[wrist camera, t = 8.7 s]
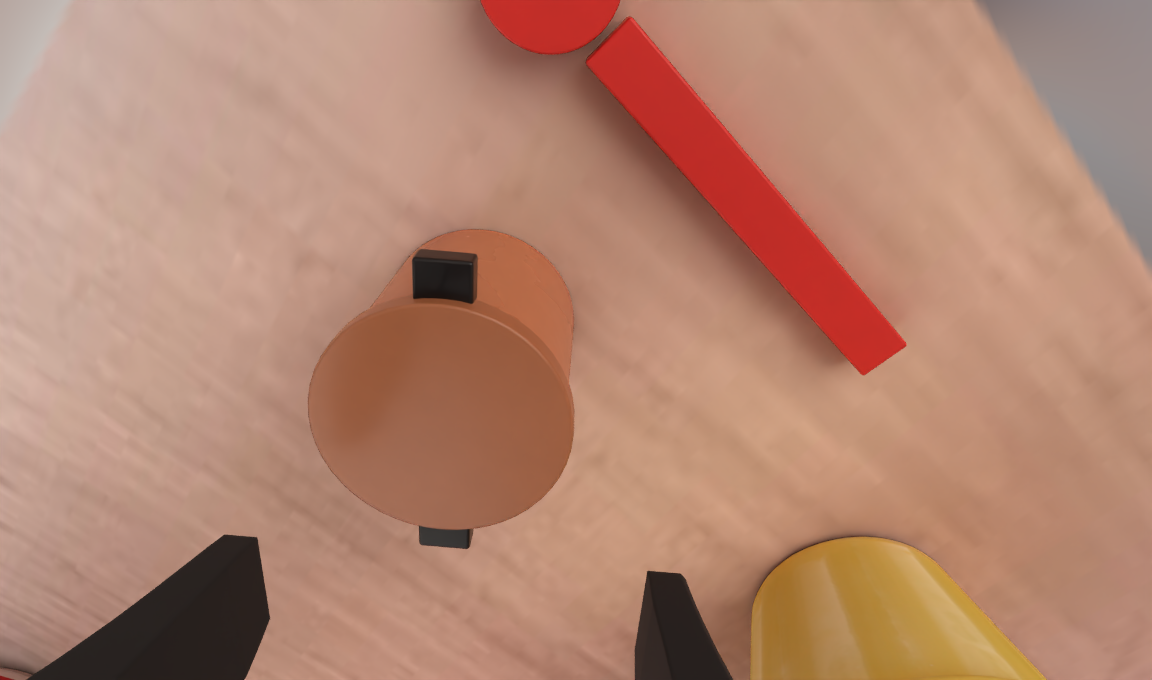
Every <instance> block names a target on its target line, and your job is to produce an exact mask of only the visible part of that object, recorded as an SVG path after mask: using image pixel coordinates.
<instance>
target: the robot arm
mask: <svg viewBox="0 0 1152 680" xmlns="http://www.w3.org/2000/svg"><path fill="white" fill-rule="evenodd" d="M269 620H270V615H269V609H268V603H267V596H266V590H265V584H264V577H263V571H262V564H261V558H260V552H259V545H258V539H257V537H246V536H234V535H223V536H222V537H221V538H219V539H218V540H217V541H215V542H214V543H213V544H211V545H210V546H209V547H207V548H206V549H205V550H204V551H202V552H201V553H200V554H198V555H197V556H196V557H195V558H193V559H192V560H191V561H189V562H188V563H187V564H186V565H184V566H183V567H182V568H180V569H179V570H178V571H177V572H175V573H174V574H173V575H171V576H170V577H169V578H168V579H166V580H165V581H164V582H162V583H161V584H160V585H159V586H157V587H156V588H155V589H153V590H152V591H151V592H150V593H148V594H147V595H146V596H144V597H143V598H142V599H140V600H139V601H138V602H136V603H135V604H134V605H132V606H131V607H130V608H128V609H127V610H126V611H124V612H123V613H122V614H120V615H119V616H118V617H116V618H115V619H114V620H112V621H111V622H109V623H108V624H107V625H105V626H104V627H102V628H101V629H99V630H98V631H97V632H95V633H94V634H92V635H91V636H90V637H88V638H87V639H85V640H84V641H82V642H81V643H80V644H78V645H77V646H75V647H74V648H72V649H71V650H70V651H68V652H67V653H65V654H64V655H62V656H61V657H60V658H58V659H57V660H55V661H54V662H52V663H51V664H49V665H48V666H46V667H45V668H43V669H42V670H40V671H39V672H37V673H35V674H34V675H32V676H31V677H29V678H28V679H26V680H244V679H245V677H246V676H247V674H248V671H249V669H250V667H251V664H252V662H253V660H254V657H255V655H256V653H257V650H258V648H259V645H260V643H261V640H262V638H263V635H264V633H265V630H266V627H267V625H268V622H269ZM635 680H733V679H732V677H731V675H730V673H729V671H728V669H727V668H726V666H725V664H724V662H723V660H722V658H721V656H720V655H719V653H718V651H717V649H716V647H715V645H714V643H713V641H712V639H711V637H710V635H709V633H708V630H707V628H706V626H705V624H704V622H703V620H702V618H701V616H700V613H699V611H698V609H697V607H696V604H695V602H694V600H693V597H692V595H691V592H690V590H689V587H688V585H687V582H686V579H685V578H684V577H683V576H682V575H681V574H678V573H666V572H654V571H647V577H646V583H645V590H644V596H643V602H642V608H641V615H640V621H639V627H638V633H637V639H636V646H635Z"/></svg>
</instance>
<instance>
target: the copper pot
mask: <svg viewBox="0 0 1152 680" xmlns="http://www.w3.org/2000/svg"><path fill="white" fill-rule="evenodd" d="M573 329H574V313H573V306H572V301H571V298H570V294H569V292H568V289H567V287H566V285H565V282H564V281H563V279H562V277H561V276H560V274H559V273H558V271H557V270H556V269H555V267H554V266H553V265H552V264H551V263H550V262H549V261H548V260H547V259H546V258H545V257H544V256H543V255H542V254H541V253H540V252H538V251H537V250H536V249H534V248H533V247H532V246H530V245H528V244H526V243H525V242H523V241H521V240H519V239H517V238H514V237H512V236H510V235H506V234H503V233H499V232H495V231H489V230H473V229H470V230H461V231H455V232H451V233H447V234H444V235H441V236H439V237H436V238H434V239H432V240H430V241H429V242H427V243H425V244H424V245H422V246H421V247H420V248H418V249H417V250H416V251H415V252H414V253H413V254H412V255H411V256H410V257H409V258H408V259H407V260H406V261H405V263H404V264H403V265H402V266H401V268H400V269H399V270H398V272H397V273H396V274H395V276H394V277H393V278H392V280H391V281H390V282H389V284H388V285H387V286H386V287H385V289H384V290H383V291H382V293H381V294H380V295H379V297H378V298H377V299H376V301H375V302H374V303H373V305H372V306H371V307H370V309H368V310H366V311H365V312H363V313H361V314H360V315H358V316H357V317H356V318H354V319H353V320H352V321H350V322H349V323H348V324H347V325H346V326H345V327H344V328H343V329H342V330H341V331H340V332H339V333H338V334H337V335H336V336H335V338H334V339H333V340H332V341H331V343H330V344H329V345H328V347H327V348H326V350H325V351H324V353H323V354H322V355H321V357H320V359H319V361H318V363H317V365H316V367H315V369H314V372H313V375H312V379H311V382H310V387H309V394H308V416H309V421H310V427H311V431H312V434H313V437H314V440H315V443H316V445H317V447H318V450H319V452H320V454H321V456H322V458H323V459H324V461H325V462H326V464H327V465H328V467H329V468H330V470H331V471H332V472H333V473H334V475H335V476H336V477H337V478H338V479H339V480H340V482H341V483H342V484H343V485H344V486H345V487H347V488H348V489H349V490H350V491H351V492H352V493H353V494H354V495H356V496H357V497H358V498H360V499H361V500H362V501H364V502H365V503H367V504H368V505H370V506H372V507H373V508H375V509H377V510H378V511H380V512H382V513H384V514H387V515H389V516H391V517H393V518H396V519H398V520H401V521H404V522H407V523H410V524H414V525H418V526H419V542H420V544H421V545H427V546H439V547H450V548H462V549H468V548H469V547H470V543H471V539H472V535H473V529H474V528H480V527H486V526H490V525H493V524H497V523H500V522H503V521H506V520H508V519H510V518H513V517H515V516H517V515H519V514H520V513H522V512H524V511H526V510H527V509H529V508H530V507H532V506H533V505H534V504H535V503H537V502H538V501H539V500H541V499H542V498H543V497H544V496H545V494H546V493H547V492H548V491H549V490H550V489H551V488H552V487H553V486H554V484H555V483H556V481H557V480H558V479H559V477H560V476H561V474H562V472H563V470H564V468H565V466H566V464H567V461H568V458H569V455H570V452H571V448H572V442H573V435H574V404H573V397H572V393H571V389H570V386H569V374H570V363H571V351H572V340H573Z"/></svg>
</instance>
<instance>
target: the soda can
mask: <svg viewBox="0 0 1152 680" xmlns="http://www.w3.org/2000/svg"><path fill="white" fill-rule="evenodd" d="M31 676H32V674H29V673H26V672H22V671H19V670H14V669H8V668H0V680H26V679H28V678H29V677H31Z"/></svg>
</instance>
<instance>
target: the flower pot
mask: <svg viewBox="0 0 1152 680" xmlns="http://www.w3.org/2000/svg"><path fill="white" fill-rule="evenodd" d="M750 680H1047V679H1046V678H1045V677H1044V676H1043V675H1042V674H1041V673H1040V672H1039V671H1038V670H1037V669H1036V668H1035V666H1034V665H1033V664H1032V663H1031V662H1030V661H1029V660H1028V659H1027V658H1026V657H1025V656H1024V655H1023V654H1022V653H1021V652H1020V651H1019V650H1018V649H1017V648H1016V646H1015V645H1014V644H1013V643H1012V642H1011V641H1010V640H1009V639H1008V638H1007V637H1006V636H1005V635H1004V634H1003V633H1002V632H1001V631H1000V630H999V628H998V627H997V626H996V625H995V624H994V623H993V622H992V621H991V620H990V619H989V618H988V617H987V616H986V615H985V614H984V613H983V612H982V611H981V609H980V608H979V607H978V606H977V605H976V604H975V603H974V602H973V601H972V600H971V599H970V598H969V597H968V596H967V595H966V594H965V592H964V591H963V590H962V589H961V588H960V587H959V586H958V585H957V584H956V583H955V582H954V581H953V580H952V579H951V578H950V576H949V575H948V574H947V573H946V572H945V571H944V570H943V569H942V568H941V567H940V566H939V565H938V564H937V563H936V562H935V561H934V560H933V559H931V558H930V557H929V556H927V555H926V554H924V553H923V552H921V551H919V550H917V549H916V548H914V547H911V546H909V545H906V544H904V543H901V542H897V541H894V540H889V539H884V538H878V537H848V538H841V539H835V540H830V541H826V542H823V543H819V544H816V545H813V546H810V547H808V548H806V549H804V550H802V551H800V552H797V553H795V554H793V555H792V556H790V557H789V558H788V559H786V560H785V561H784V562H782V563H781V564H780V565H779V566H777V567H776V568H775V569H774V570H773V571H772V572H771V573H770V574H769V575H768V577H767V578H766V579H765V581H764V582H763V584H762V585H761V587H760V589H759V591H758V592H757V595H756V597H755V600H754V603H753V608H752V616H751V664H750Z"/></svg>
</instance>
